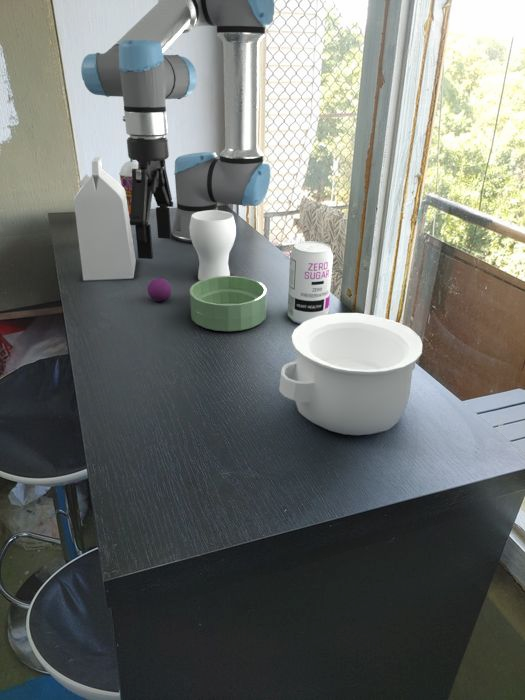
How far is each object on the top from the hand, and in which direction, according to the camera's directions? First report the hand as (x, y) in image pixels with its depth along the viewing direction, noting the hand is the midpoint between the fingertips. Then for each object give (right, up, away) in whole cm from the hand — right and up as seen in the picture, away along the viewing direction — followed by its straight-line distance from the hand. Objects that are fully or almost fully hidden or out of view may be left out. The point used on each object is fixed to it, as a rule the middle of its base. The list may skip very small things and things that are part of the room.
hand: (155, 247), depth 107 cm
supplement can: (+31, -15, 0) cm, 34 cm away
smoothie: (-20, +24, +67) cm, 73 cm away
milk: (-15, -2, +21) cm, 26 cm away
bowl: (+15, -14, -1) cm, 21 cm away
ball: (0, -10, +6) cm, 12 cm away
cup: (+10, -4, +18) cm, 21 cm away
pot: (+35, -30, -29) cm, 54 cm away
